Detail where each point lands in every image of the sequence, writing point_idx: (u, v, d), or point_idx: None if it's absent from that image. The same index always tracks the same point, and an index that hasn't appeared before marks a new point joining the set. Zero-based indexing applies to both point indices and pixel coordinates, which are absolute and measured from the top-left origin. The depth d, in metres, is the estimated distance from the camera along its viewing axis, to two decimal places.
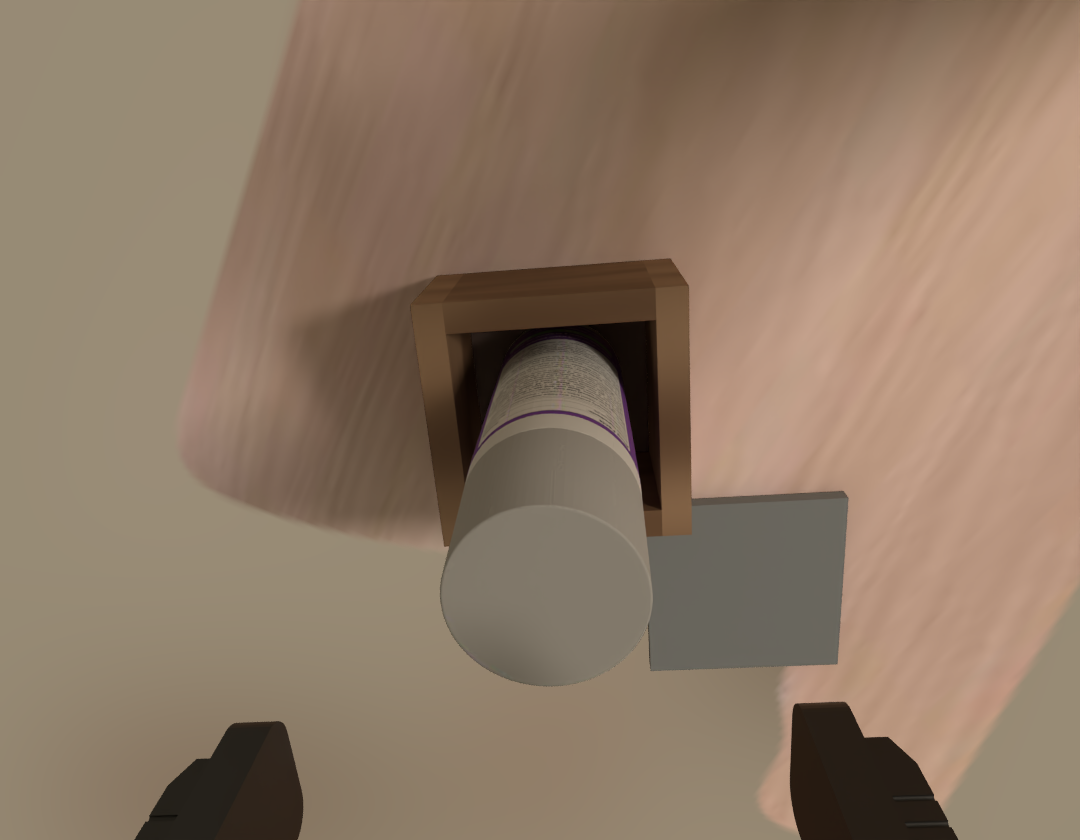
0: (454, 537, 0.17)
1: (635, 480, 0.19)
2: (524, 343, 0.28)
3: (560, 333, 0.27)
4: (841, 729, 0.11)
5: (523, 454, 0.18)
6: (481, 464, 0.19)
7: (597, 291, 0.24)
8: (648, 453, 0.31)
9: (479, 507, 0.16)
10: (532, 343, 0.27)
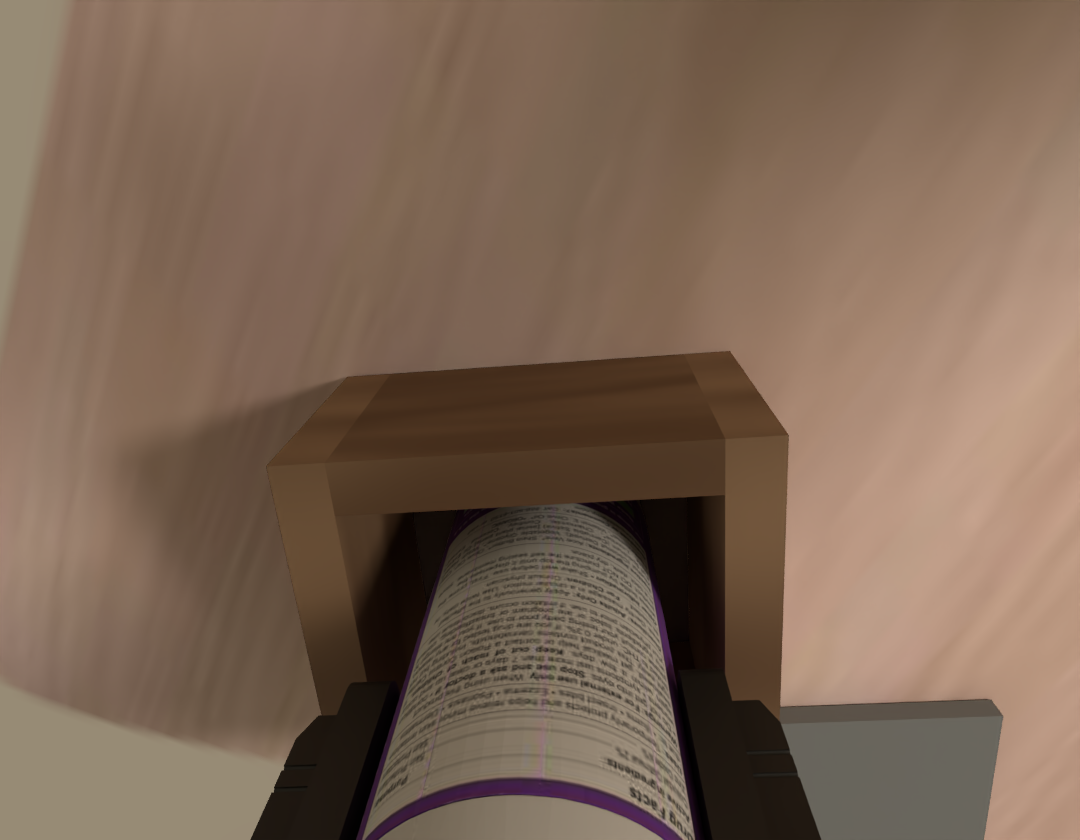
0: None
1: None
2: None
3: None
4: (712, 692, 0.12)
5: None
6: None
7: (615, 443, 0.13)
8: (688, 645, 0.20)
9: None
10: None
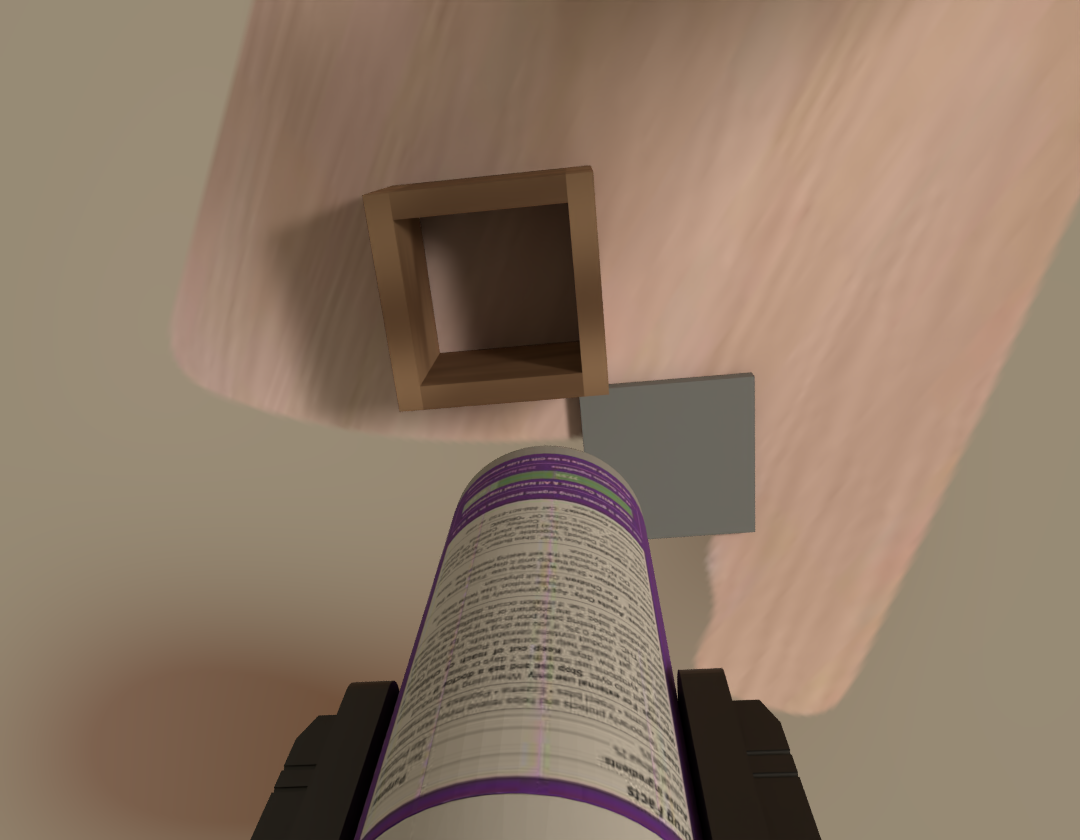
0: None
1: None
2: (486, 498, 0.16)
3: (546, 483, 0.16)
4: (712, 692, 0.12)
5: None
6: None
7: (517, 179, 0.29)
8: (580, 341, 0.36)
9: None
10: (498, 505, 0.16)
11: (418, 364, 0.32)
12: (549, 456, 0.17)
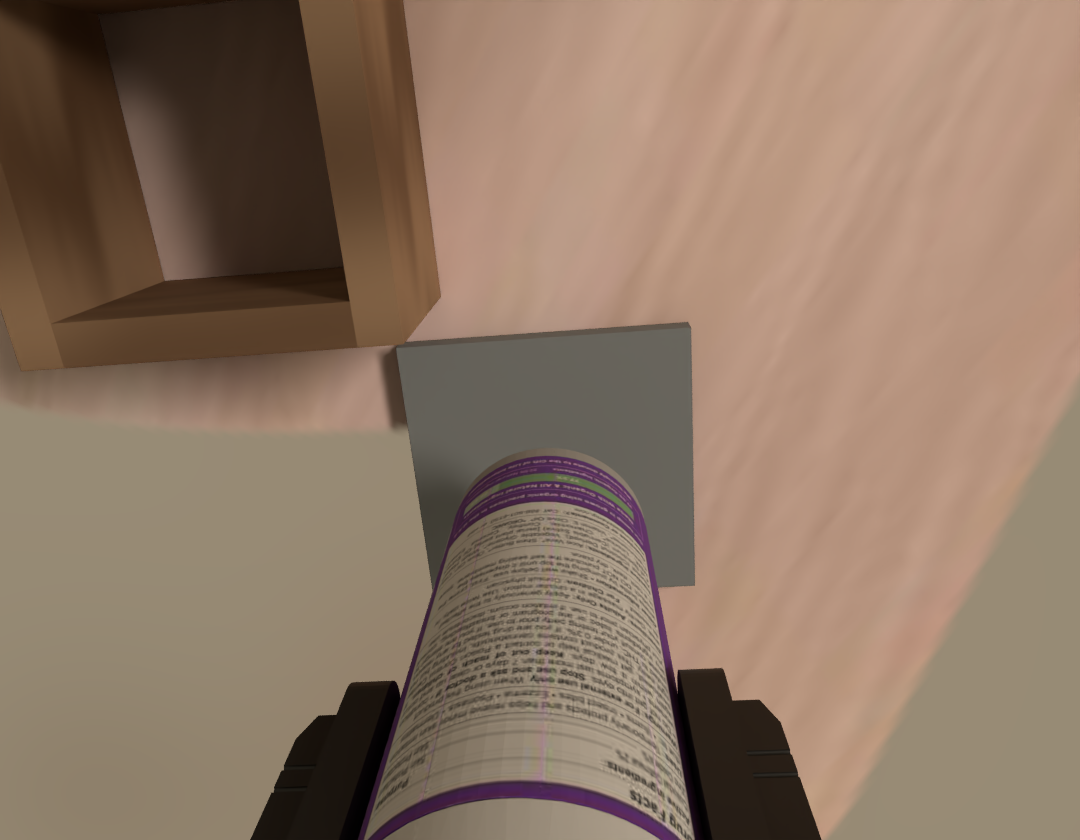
0: None
1: None
2: (487, 501, 0.16)
3: (547, 485, 0.16)
4: (712, 691, 0.12)
5: None
6: None
7: None
8: None
9: None
10: (499, 507, 0.16)
11: (50, 282, 0.17)
12: (550, 458, 0.17)
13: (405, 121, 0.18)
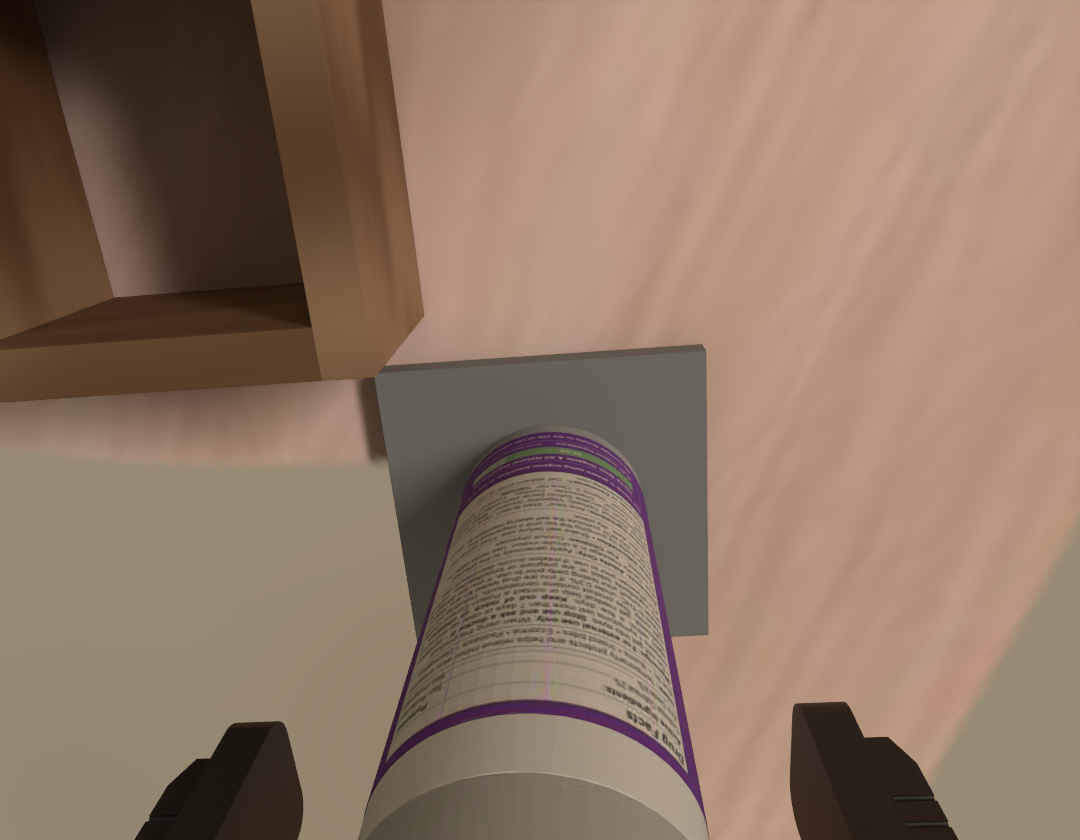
0: None
1: None
2: (495, 472, 0.17)
3: (552, 457, 0.17)
4: (841, 729, 0.11)
5: None
6: None
7: None
8: None
9: None
10: (506, 477, 0.17)
11: None
12: (554, 434, 0.18)
13: (380, 117, 0.16)
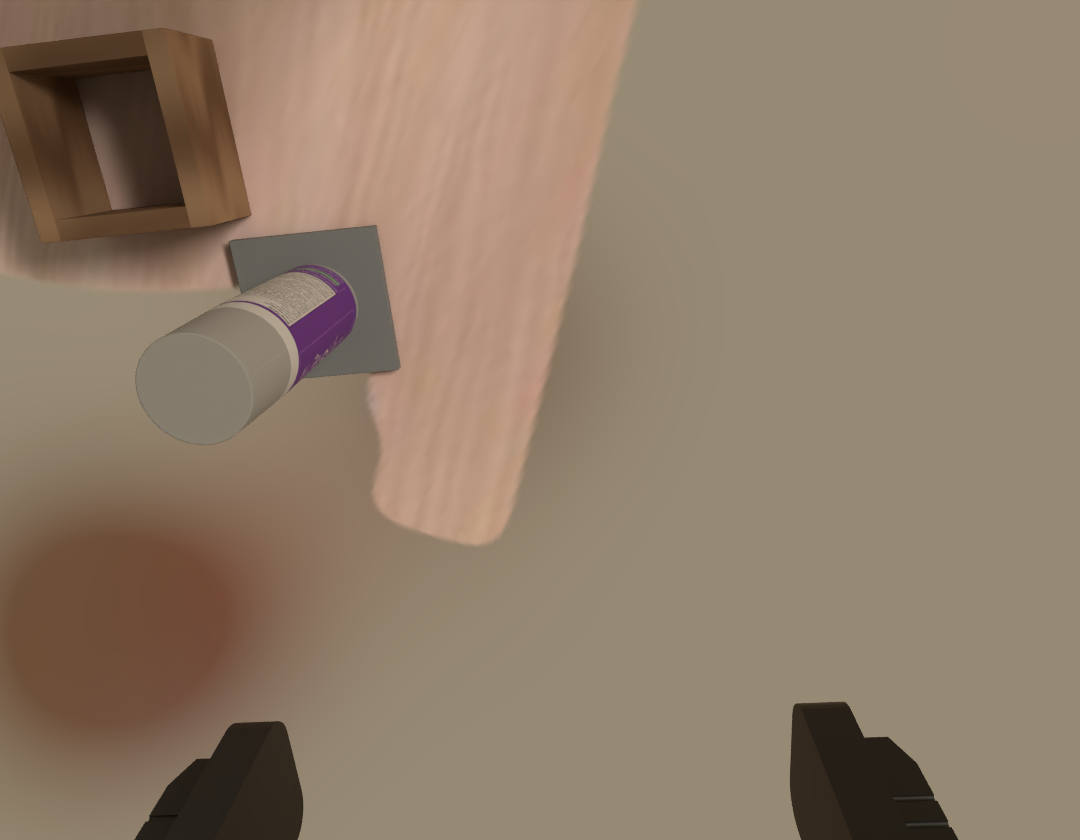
0: None
1: (280, 338, 0.32)
2: None
3: (299, 269, 0.40)
4: (841, 729, 0.11)
5: (198, 318, 0.31)
6: None
7: (105, 35, 0.35)
8: None
9: None
10: None
11: (54, 202, 0.38)
12: (308, 265, 0.42)
13: (218, 126, 0.39)
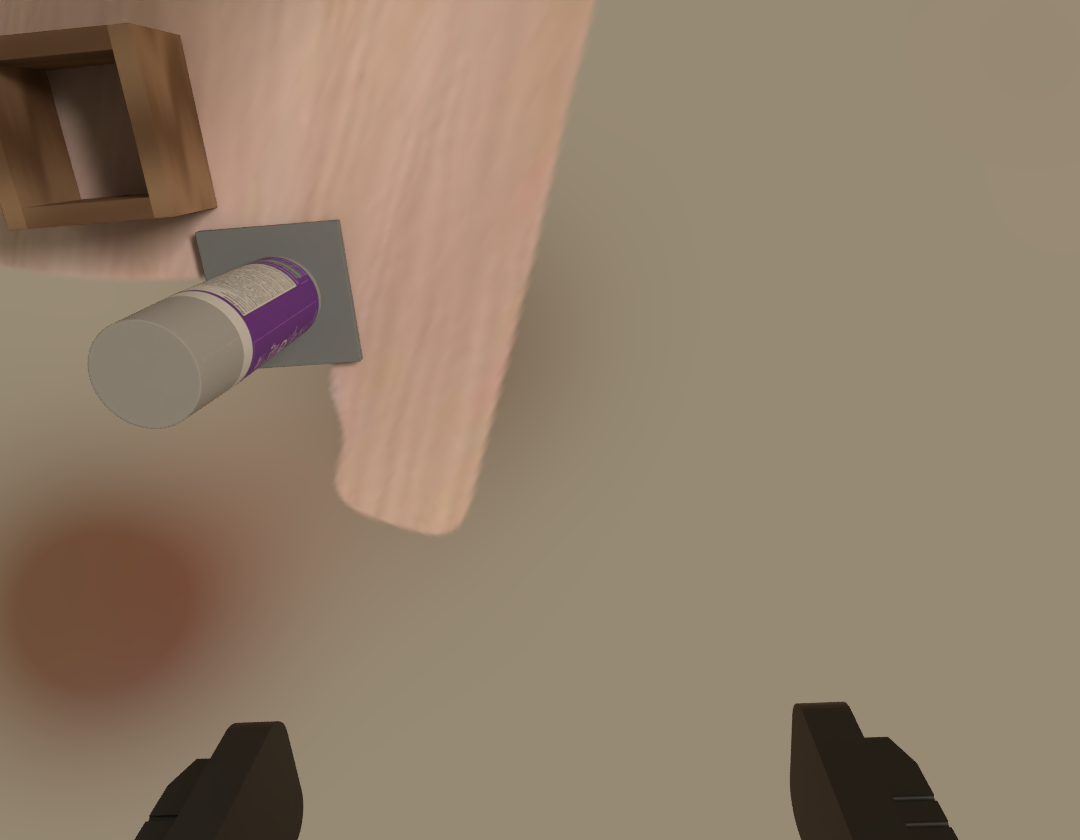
0: None
1: (233, 327, 0.33)
2: None
3: (261, 261, 0.41)
4: (841, 729, 0.11)
5: (152, 305, 0.32)
6: None
7: (71, 29, 0.36)
8: None
9: None
10: None
11: (21, 190, 0.39)
12: (271, 257, 0.43)
13: (184, 120, 0.40)
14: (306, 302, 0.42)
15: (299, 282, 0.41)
